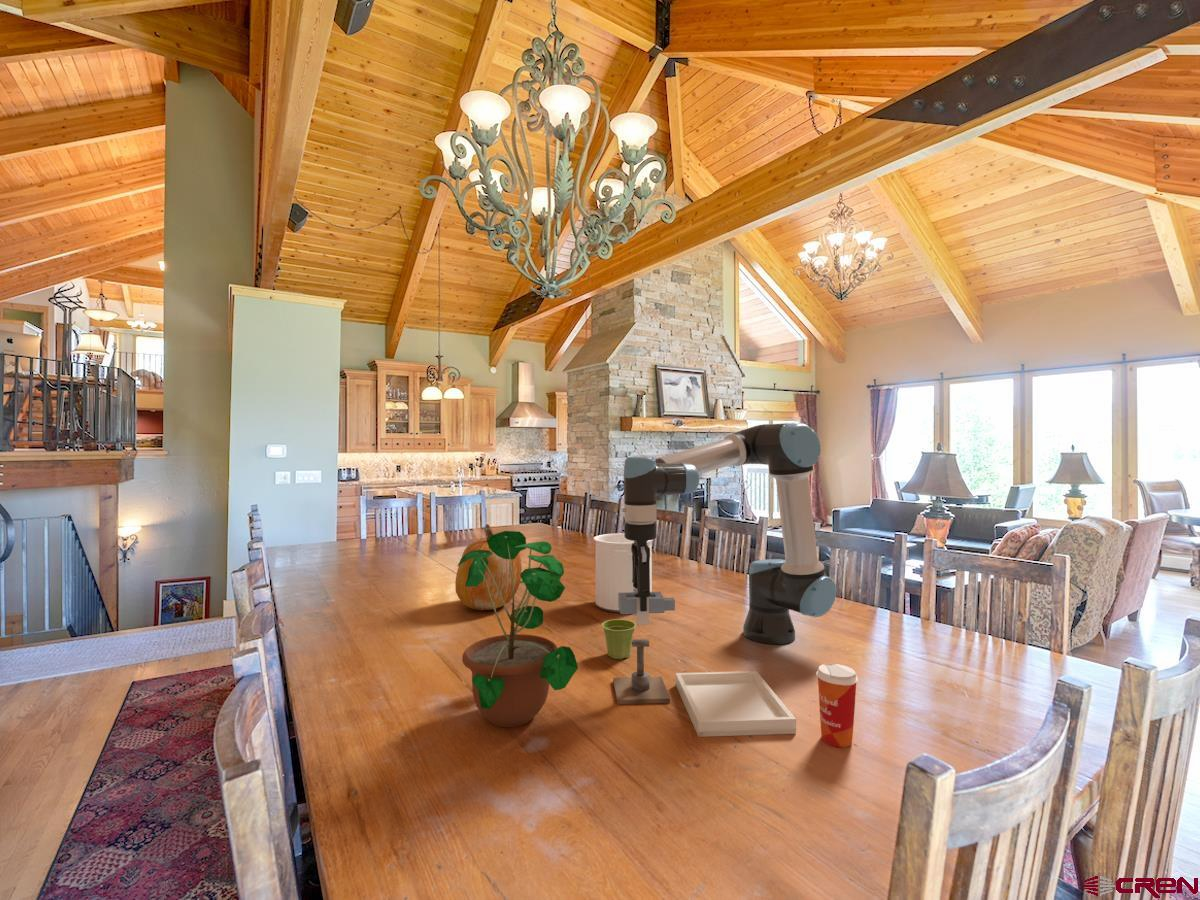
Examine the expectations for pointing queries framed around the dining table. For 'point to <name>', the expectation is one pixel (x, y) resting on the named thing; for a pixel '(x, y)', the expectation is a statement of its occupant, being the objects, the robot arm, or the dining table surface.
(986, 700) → the dining table surface
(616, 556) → the bucket
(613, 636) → the plant pot
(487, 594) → the pumpkin
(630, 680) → the lever on base
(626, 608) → the grey slotted block
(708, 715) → the tray
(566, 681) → the potted plant
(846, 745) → the paper cup
